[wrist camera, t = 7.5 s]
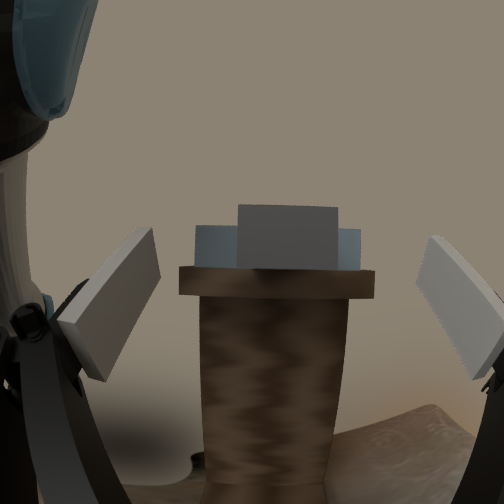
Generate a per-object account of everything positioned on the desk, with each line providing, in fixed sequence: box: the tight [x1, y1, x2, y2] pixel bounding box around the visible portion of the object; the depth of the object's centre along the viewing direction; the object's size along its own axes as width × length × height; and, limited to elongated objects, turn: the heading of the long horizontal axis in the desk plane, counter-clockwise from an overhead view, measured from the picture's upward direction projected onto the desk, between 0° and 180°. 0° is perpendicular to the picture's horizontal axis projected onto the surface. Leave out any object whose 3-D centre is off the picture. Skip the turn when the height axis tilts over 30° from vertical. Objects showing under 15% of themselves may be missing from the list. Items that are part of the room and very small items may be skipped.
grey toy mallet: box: [194, 205, 361, 271], centre depth 20 cm, size 12×17×3 cm
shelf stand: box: [179, 266, 375, 504], centre depth 24 cm, size 14×9×28 cm, turn 87°
